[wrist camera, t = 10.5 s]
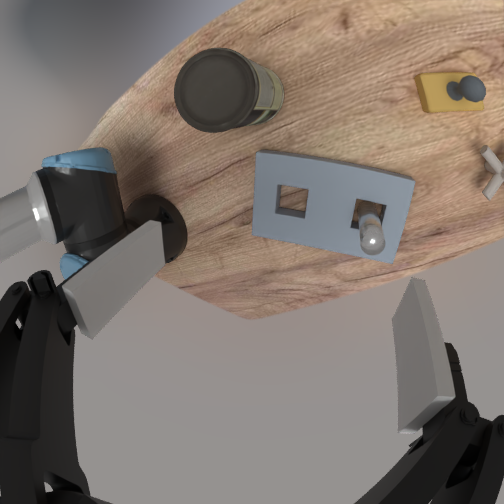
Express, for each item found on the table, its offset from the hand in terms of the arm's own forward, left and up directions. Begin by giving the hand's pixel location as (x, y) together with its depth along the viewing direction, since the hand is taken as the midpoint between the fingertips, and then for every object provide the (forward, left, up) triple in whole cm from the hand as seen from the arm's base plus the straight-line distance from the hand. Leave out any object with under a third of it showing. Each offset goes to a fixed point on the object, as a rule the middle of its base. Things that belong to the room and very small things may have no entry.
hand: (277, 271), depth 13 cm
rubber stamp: (+18, +15, -32) cm, 40 cm away
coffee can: (-12, +9, -32) cm, 35 cm away
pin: (+8, -7, -32) cm, 33 cm away
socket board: (+2, -7, -32) cm, 32 cm away
